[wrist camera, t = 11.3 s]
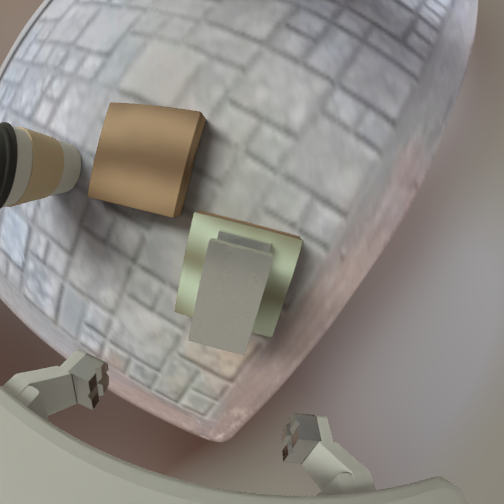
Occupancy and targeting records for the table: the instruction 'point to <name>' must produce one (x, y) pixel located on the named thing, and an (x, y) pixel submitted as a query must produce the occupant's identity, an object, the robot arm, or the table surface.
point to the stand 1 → (146, 157)
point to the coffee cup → (34, 165)
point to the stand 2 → (278, 279)
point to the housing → (230, 291)
